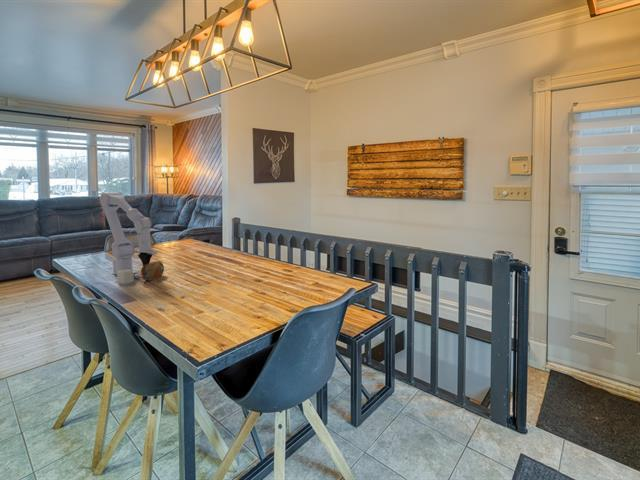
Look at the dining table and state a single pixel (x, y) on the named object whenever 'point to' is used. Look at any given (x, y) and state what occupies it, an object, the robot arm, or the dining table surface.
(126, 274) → the grey block
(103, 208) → the robot arm
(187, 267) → the dining table surface
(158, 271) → the tin
